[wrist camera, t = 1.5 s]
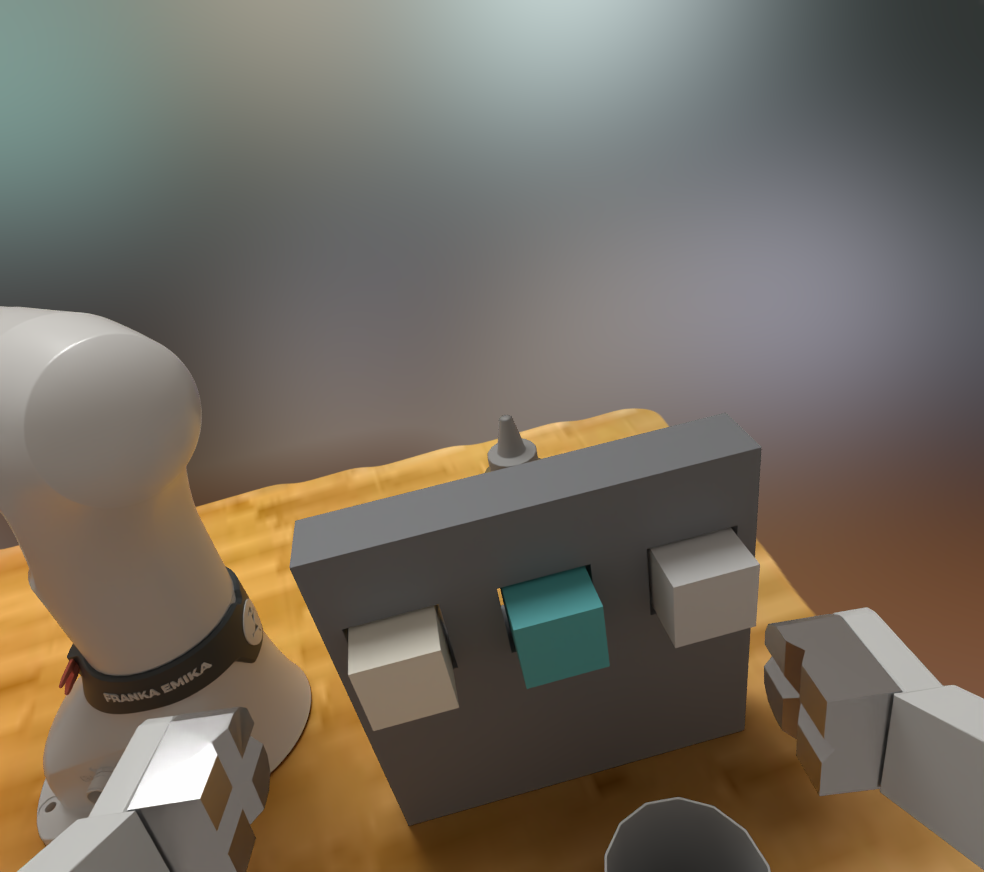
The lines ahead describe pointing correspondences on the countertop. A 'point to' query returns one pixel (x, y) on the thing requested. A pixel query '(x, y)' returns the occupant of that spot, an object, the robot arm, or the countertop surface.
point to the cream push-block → (402, 667)
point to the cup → (682, 841)
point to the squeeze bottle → (510, 447)
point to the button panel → (529, 555)
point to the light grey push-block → (703, 586)
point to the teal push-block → (556, 626)
